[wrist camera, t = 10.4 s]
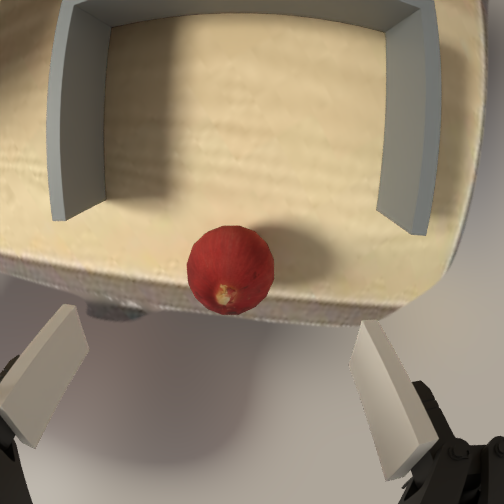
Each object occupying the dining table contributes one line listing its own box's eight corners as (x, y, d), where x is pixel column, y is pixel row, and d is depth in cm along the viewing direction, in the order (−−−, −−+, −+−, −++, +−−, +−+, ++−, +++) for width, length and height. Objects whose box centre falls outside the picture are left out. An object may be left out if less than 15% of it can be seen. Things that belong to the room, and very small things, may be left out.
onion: (270, 283, 24) (276, 345, 17) (200, 282, 24) (179, 343, 17) (272, 213, 22) (280, 253, 15) (195, 213, 22) (166, 252, 15)
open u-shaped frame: (94, 200, 22) (52, 221, 16) (100, 19, 16) (63, -4, 10) (389, 211, 22) (425, 235, 16) (397, 24, 16) (433, 0, 10)
